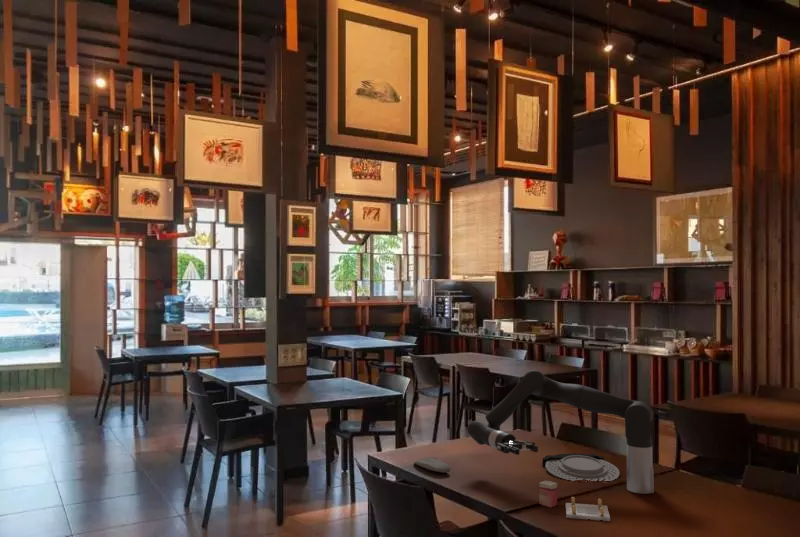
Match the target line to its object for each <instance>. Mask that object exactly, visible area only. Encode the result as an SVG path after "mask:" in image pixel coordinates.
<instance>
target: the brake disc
mask: <svg viewBox="0 0 800 537" xmlns="http://www.w3.org/2000/svg"><path fill="white" fill-rule="evenodd" d="M541 464H542V465H543V466H542V465H541V466H542V467H544V468H545V470H546V471H547V472H548V473H549V474H551V475H552V476H554V477H556V478H558V477H559V478H558V479H560V478H562V479H561V480H563V479H566V480H565V481H567V480H571V481H570V482H573V481H575V480H583V479H585V478H586V479H585V480H588V481H589V480H590V481H595V482H596V481H597V480H598V479H599V481H602V480H604V479H605V480H604V481H610V482H613V480H614V481H615V479H616V480H617V479H619V477H620V472H621V471H620V470H619V468H618V467H617V466H615V465H614V464H612V463H610V462H608V461H606V460H605V457H604V456H603V455H598V454H595V453H589V454H588V453H587V454H586V453H576V452H575V453H557V454H555V455H554V454H552V455H551V454H550V455H545V456H544V457H542V462H541ZM576 478H577V479H576Z"/></svg>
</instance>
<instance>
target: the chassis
mask: <svg viewBox="0 0 800 537" xmlns="http://www.w3.org/2000/svg"><path fill="white" fill-rule="evenodd" d="M570 498H571V499H570V500H571V502H565V514H566V518H567V519H577V520H588V519H590V520H589V521H600V520H603V521H602V522H610V521H611V516H610V512H609V509H608V508H609V507H608V505H603V502H602V499H601V498H597V504H589V503H576V500H575V499H576V497H575V496H571V497H570Z"/></svg>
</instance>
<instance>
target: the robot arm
mask: <svg viewBox="0 0 800 537" xmlns="http://www.w3.org/2000/svg"><path fill="white" fill-rule="evenodd" d="M530 395H534V396H537V397H542V398H543V397H544V398H547V399H552V400H557V401H559V402H562V403H563V404H566V405H569V406H572V407H575V408H577V409H580V410H583V411H587V412H590V413H596V414H597V413H598V414H605V415H613V416H618V417H620V418H623V419H624V428H625V430H624V431H625V432H624V435H625V439H626V490H627V491H629V492H631V493H634V494H644V495H645V494H646V495H647V494H654V488H655V486H654V483H655V482H654V466H653V439H652V433H651V432H652V431H651V430H652V428H651V427H652V426H651V422H652V421H653V418H654V410H653V409H652V408H651V405H649V404H648V403H646V402H644V401H640V400H635V399H627V398H624V397H619V396H616V395H614V394H611V393H608V392H605V391H602V390H598V389H597V388H593V387H589V386H587V385H584V384H583V385H582V384H578V383H564V382H559V381H556V380H555V379H554V380H553V379H552V378H549V377H547V376H546V375H544V374H543V373H542V372H541V371H539V370H536V369H531V370H528V371H527V372H526V373H525V374H524V375H523V377H522V378H521V379H520V380H519V382H518V383H517V384H516V386H514V387H513V388H512V390H511V391H510V392H509V393H508V394H507V395H506V396H505V397H504V398H503V399H502V400H501V401H499V403H497V404H496V405H495V406H494V407H493V408H492V409H491V410H490V411H489V412H488V413H487V414H485V419H486V421H487V424H485V423H484V422H482V421H481V420H473V421H471V422H469V423H468V425H467V428H466V431H467V434H468V435H469V436H470V437H471V438H472V439H473V441H475V442H476V443H477V444H478V445H481V446H483V445H487V446H490V447H491V448H493V449H494V450H497V451H499V452H500V453H503V454H514V455H516V456H519V455H520V451H523V452H525V451H530V452H534V453H538V452H539V447H538V446H537V445H536V442H534V441H531V440H527V439H523V440H520V439H517V438H516V436H515V435H513V434H512V433H508V432H506V431H503V430H501V429H500V430H498V428H499V427H500V426H502V424H504V423H505V422H506V421H507V420H508V419H509V418H510V417H511V416H512V415H513V414H514V412H515V411H516V409H517V408H518V407H519V405H520V404H521V403H522V402H523V401H524V400H526V399H527V398H528V397H529V396H530Z"/></svg>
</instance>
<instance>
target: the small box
mask: <svg viewBox="0 0 800 537" xmlns="http://www.w3.org/2000/svg"><path fill="white" fill-rule="evenodd" d="M538 490H539V496H538V497H539V501H538V502H539V503H538V504H539V505H540V504H541V506H545V507H547V508H553V507H556V506H558V482H554V481H551V480H543V481H540V482H539V489H538Z"/></svg>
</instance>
